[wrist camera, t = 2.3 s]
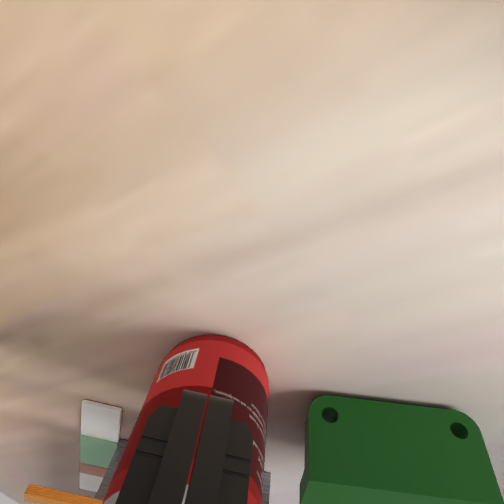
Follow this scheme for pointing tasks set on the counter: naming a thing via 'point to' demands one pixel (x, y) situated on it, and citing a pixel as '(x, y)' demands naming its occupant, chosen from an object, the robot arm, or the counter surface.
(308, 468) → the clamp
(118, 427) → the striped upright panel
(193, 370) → the canned food
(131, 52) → the counter surface
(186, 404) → the robot arm
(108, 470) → the box
